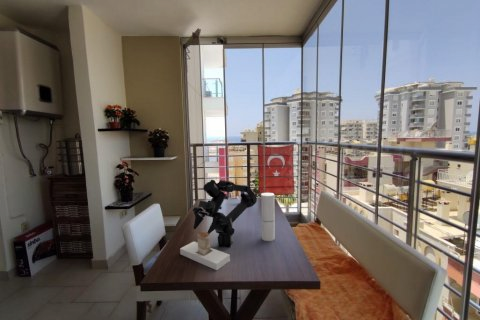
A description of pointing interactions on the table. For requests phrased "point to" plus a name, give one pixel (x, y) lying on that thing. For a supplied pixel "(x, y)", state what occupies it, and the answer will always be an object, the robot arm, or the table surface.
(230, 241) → the robot arm
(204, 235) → the wooden peg
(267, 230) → the cylindrical container
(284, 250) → the table surface
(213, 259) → the white slotted block
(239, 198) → the water lily
